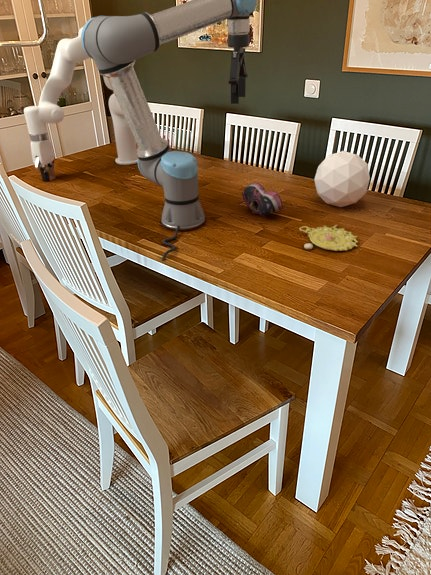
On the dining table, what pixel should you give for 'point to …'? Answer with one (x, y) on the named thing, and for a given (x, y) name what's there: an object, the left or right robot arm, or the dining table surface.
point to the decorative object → (330, 238)
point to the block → (50, 173)
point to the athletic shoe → (261, 200)
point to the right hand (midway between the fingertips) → (238, 100)
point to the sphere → (342, 179)
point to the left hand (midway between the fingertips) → (49, 178)
